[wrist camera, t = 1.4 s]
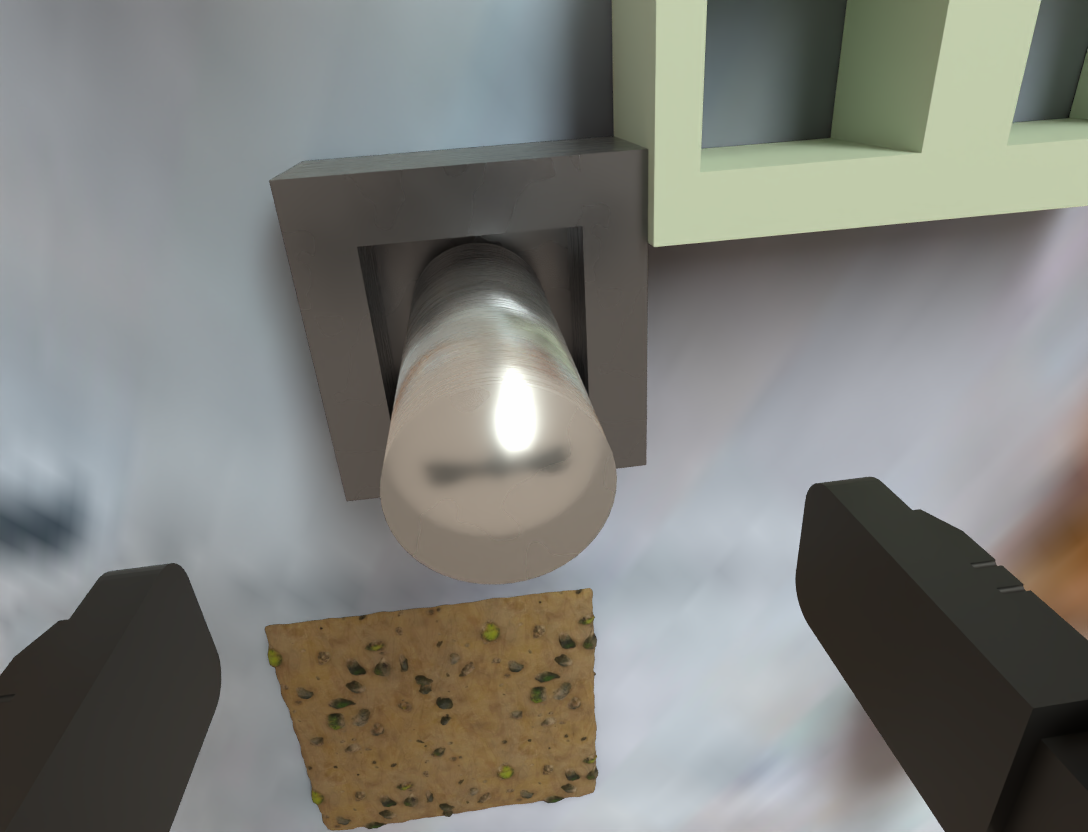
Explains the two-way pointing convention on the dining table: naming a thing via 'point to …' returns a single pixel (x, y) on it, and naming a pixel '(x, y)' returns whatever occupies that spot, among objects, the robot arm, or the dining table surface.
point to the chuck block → (451, 220)
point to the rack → (852, 125)
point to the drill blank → (491, 427)
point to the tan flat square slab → (442, 706)
